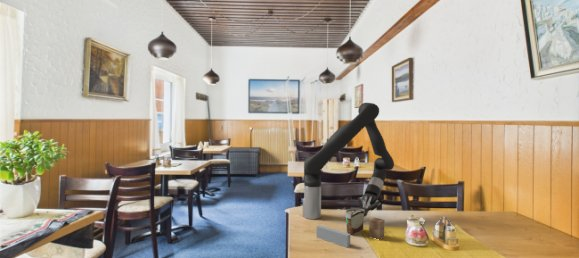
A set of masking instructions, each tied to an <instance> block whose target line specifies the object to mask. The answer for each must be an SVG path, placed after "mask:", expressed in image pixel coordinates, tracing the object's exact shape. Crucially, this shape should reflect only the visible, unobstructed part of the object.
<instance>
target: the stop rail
mask: <svg viewBox="0 0 579 258" xmlns="http://www.w3.org/2000/svg"><path fill="white" fill-rule="evenodd" d="M316 238H318V239H321V240H324V241H327V242H329V243H333V244H335V245H339V246H342V247H345V248H349V247H350V246H351V235H350V234H349V233H347V232H345V231H342V230H338V229H335V228H331V227H329V226H328V227H327V226H324V225H321V224H319V225H316Z"/></svg>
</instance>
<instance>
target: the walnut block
mask: <svg viewBox="0 0 579 258" xmlns="http://www.w3.org/2000/svg"><path fill="white" fill-rule="evenodd" d="M368 221H369V222H368V238H369V237H372V238H371V239H373V238H376V239H379V240H378V241H381V240H382V239H384V238H385V219H383V218H379V217H372V218H371V219H369V220H368ZM383 237H384V238H383ZM381 238H382V239H381ZM376 239H375V240H376ZM380 239H381V240H380Z"/></svg>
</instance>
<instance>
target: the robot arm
mask: <svg viewBox="0 0 579 258" xmlns="http://www.w3.org/2000/svg"><path fill="white" fill-rule="evenodd" d="M358 107H359V108H358V111H357V113H358V114H357V115H356V117H354V118H353V119H351V120H350V121H349V122H347V123H345V124H344V125H342V126H340V127H339V128H338V129H337V130H336V131H335V132H333V134H331V135H330V137H329V138H328V139H327V141H326V142H325V143H324V145H323V146H322V147H321V149H320V150H318V151H317V152H316V153H315V154H314V155H309V156H308V157H306V158H305V160H304V162H303V182H304V183H303V185H304V187H303V190H304V193H303V194H304V195H303V196H304V197H303V198H302V216H303V217H304V218H306V219H309V220H317V219H321V217H322V177H321V176H322V175H321V171H322V170H323V169H324V167H325V166H326V164H328V163H329V161H330V160H331V159H333V157H335V156H336V155H337V154H339V152H340V151H342V150H343V149H344V148H345V147H346V146H347V145H348V144H349V143H350V142H352V141H353V139H354V138H355V137H356V136H357V135H358V134H359V133H360V132H361V131H362V130H364V128H365V129H366V132H367V135H368V138H369V140H370V143H371V147H372V148H371V149H372V150H373V154H374V155H375V156H378V158H376V159H375V160H374V164H373V171H372V175H371V177H370V179H369V181H368V183H367V185H366V188H365V190H364V194H363V195H362V196H361V197H360V196H358V197H357V200H358V204H359V207H360V209H364V211H365V213H364V218H365V217H367V216H368V213H369V211H374V210H376V209H377V208H378V207H380V206H381V205H382V204H381V202H380V200H379V198H380V195H381V193H382V190H383V187H384V183H385V180H386V178H387V174H386V172H385V171H392V170H393V169H394V166H395V162H394V159H393V158H392V155H391V154H390V152H389V151H388V149H387V145H386V142H385V140H384V138H383V136H382V134H381V132H380V129H379V128H378V125H377V123H376V118H377V117H379V115H380V108H379V106H378V105H377V104H376V103H373V102H363V103H362V104H360V105H359V106H358Z"/></svg>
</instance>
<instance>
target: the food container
mask: <svg viewBox="0 0 579 258" xmlns="http://www.w3.org/2000/svg"><path fill="white" fill-rule="evenodd" d="M364 213H365V211H364V209H362V208H354V207H353V208H348V209H346V210H345V212H344V217H345V218H346V219H345V221H346V233H349V234H350V236H354V235H356V234H359V233H361V232H362V230H363V231H364V223H365V217H364Z"/></svg>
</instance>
